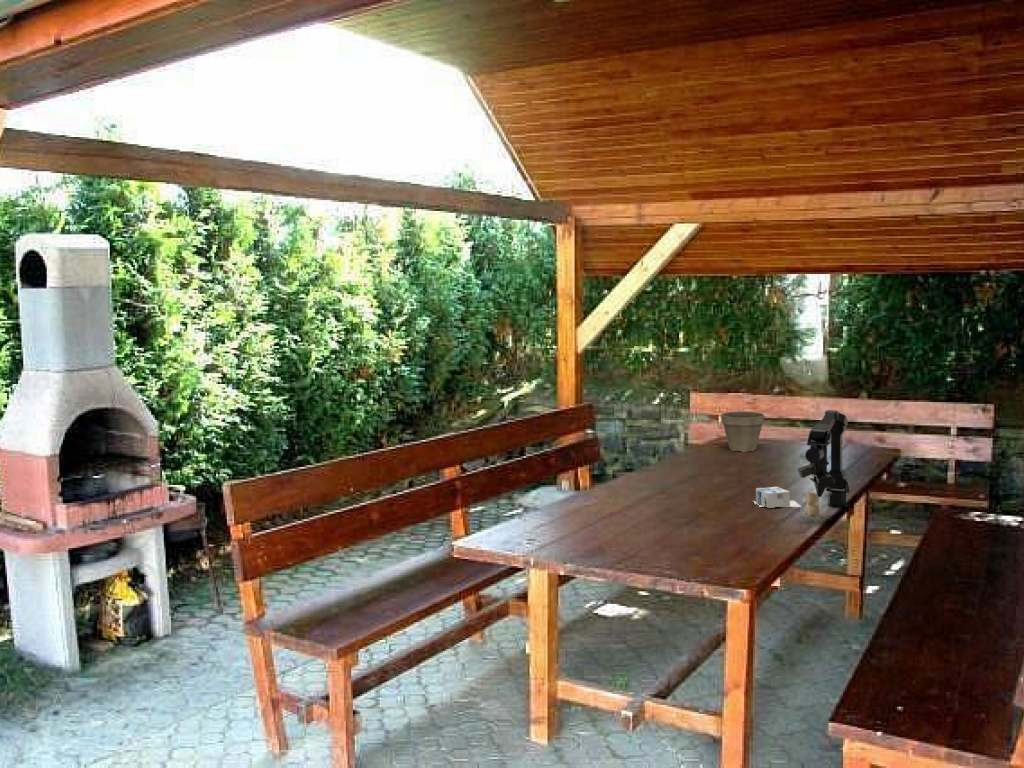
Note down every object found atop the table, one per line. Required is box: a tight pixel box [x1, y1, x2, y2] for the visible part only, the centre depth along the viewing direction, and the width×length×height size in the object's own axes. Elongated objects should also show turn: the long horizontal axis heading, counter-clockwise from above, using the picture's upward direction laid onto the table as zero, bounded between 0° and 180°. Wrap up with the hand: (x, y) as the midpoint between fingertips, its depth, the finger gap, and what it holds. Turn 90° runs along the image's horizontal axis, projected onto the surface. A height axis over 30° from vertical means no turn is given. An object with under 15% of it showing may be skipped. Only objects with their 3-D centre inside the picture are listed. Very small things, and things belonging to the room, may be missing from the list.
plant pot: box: [720, 411, 765, 453], centre depth 534 cm, size 25×25×22 cm
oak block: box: [805, 491, 820, 516], centre depth 375 cm, size 4×4×9 cm
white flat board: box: [752, 500, 803, 508], centre depth 394 cm, size 18×12×1 cm, turn 89°
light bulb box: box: [755, 486, 791, 509], centre depth 392 cm, size 11×7×11 cm
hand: (819, 496), depth 366 cm, fingers closed
